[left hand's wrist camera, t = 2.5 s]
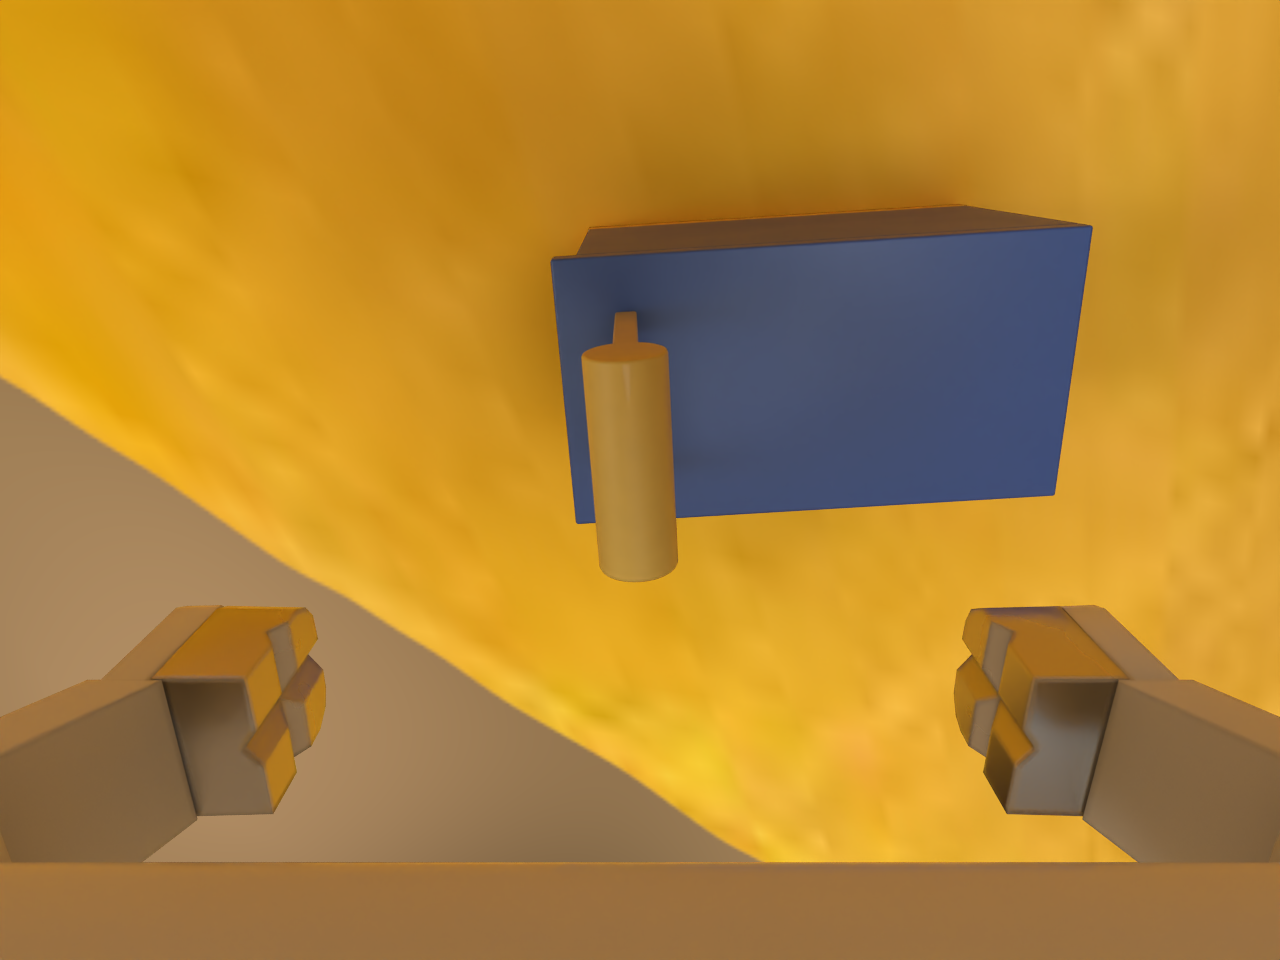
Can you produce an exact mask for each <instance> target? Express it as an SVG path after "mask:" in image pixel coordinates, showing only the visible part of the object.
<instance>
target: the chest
mask: <svg viewBox="0 0 1280 960" xmlns="http://www.w3.org/2000/svg"><path fill="white" fill-rule="evenodd" d="M1066 224H1078V223H1073V222H1066V221H1060V220H1054V219H1047V218H1041V217H1034V216H1028V215H1021V214H1015V213H1009V212H1002V211H996V210H989V209H983V208H977V207H970V206H967V205H961V204H955V205H939V206H923V207H908V208H892V209H876V210H860V211H844V212H828V213H812V214H797V215H781V216H765V217H749V218H733V219H717V220H701V221H686V222H670V223H654V224H638V225H622V226H606V227H591V228H589V229H588V233H587V235H586V237H585V239H584V241H583V243H582V245H581V247H580V249H579V251H578V253H577V255H588V254H604V253H620V252H636V251H652V250H668V249H684V248H700V247H716V246H732V245H748V244H763V243H779V242H795V241H811V240H827V239H843V238H859V237H875V236H891V235H907V234H923V233H939V232H955V231H971V230H986V229H1002V228H1018V227H1034V226H1050V225H1066Z"/></svg>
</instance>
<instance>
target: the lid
mask: <svg viewBox="0 0 1280 960" xmlns="http://www.w3.org/2000/svg"><path fill="white" fill-rule="evenodd" d="M1092 229H1093V228H1092V226H1091V225H1085V224H1066V225H1050V226H1034V227H1018V228H1002V229H986V230H971V231H955V232H939V233H923V234H907V235H891V236H875V237H859V238H843V239H827V240H811V241H795V242H779V243H763V244H748V245H732V246H716V247H700V248H684V249H668V250H652V251H636V252H620V253H604V254H588V255H572V256H556V257H553V258H552V259H551V272H552V282H553V292H554V302H555V313H556V323H557V333H558V343H559V354H560V364H561V374H562V384H563V395H564V405H565V415H566V425H567V436H568V446H569V456H570V466H571V476H572V487H573V497H574V507H575V517H576V523H577V524H584V523H596V531H597V542H598V553H599V565H600V568H601V570H602V571H603V573H604V574H605V575H607V576H608V577H610V578H613V579H616V580H619V581H625V582H644V581H650V580H655V579H658V578H661V577H663V576H665V575H667V574H669V573H670V572H672V571H673V570H674V569H675V567H676V565H677V563H678V549H677V528H676V518H685V517H702V516H719V515H735V514H752V513H769V512H786V511H802V510H819V509H836V508H853V507H869V506H886V505H903V504H920V503H936V502H953V501H970V500H987V499H1003V498H1020V497H1037V496H1053V495H1054V494H1055V488H1056V481H1057V474H1058V467H1059V460H1060V453H1061V446H1062V439H1063V432H1064V425H1065V418H1066V411H1067V404H1068V397H1069V390H1070V383H1071V376H1072V369H1073V362H1074V355H1075V348H1076V341H1077V334H1078V327H1079V320H1080V313H1081V306H1082V299H1083V292H1084V285H1085V278H1086V271H1087V264H1088V257H1089V250H1090V243H1091V236H1092Z"/></svg>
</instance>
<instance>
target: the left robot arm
mask: <svg viewBox="0 0 1280 960" xmlns="http://www.w3.org/2000/svg"><path fill="white" fill-rule="evenodd" d="M317 639H318V637H317V633H316V628H315V623H314V618H313V615H312V614H311V613H310V612H309V611H308V610H307V609H306V608H302V607H250V606H226V607H224V606H222V605H212V606H185V607H178V608H176V609H175V610H173V611H172V612H171V613H170V614H169V615H168V616H167V617H166V618H165V619H164V620H163V621H162V622H161V623H160V624H159V625H158V626H157V627H156V628H155V629H154V630H153V631H151V632H150V633H149V634H148V635H147V636H146V637H145V638H144V639H143V640H142V641H141V642H140V643H139V644H138V645H137V646H136V647H135V648H134V649H133V650H132V651H131V652H130V653H128V654H127V655H126V656H125V657H124V658H123V659H122V660H121V661H120V662H119V663H118V664H117V665H116V666H115V667H114V668H113V669H112V670H111V671H110V672H109V673H108V674H107V675H105V676H104V677H103V678H102V679H101V680H86V681H84V682H81V683H79V684H77V685H74V686H72V687H70V688H67V689H65V690H63V691H60V692H58V693H55V694H53V695H51V696H48V697H46V698H44V699H41V700H39V701H37V702H34V703H32V704H30V705H27V706H25V707H23V708H20V709H18V710H16V711H13V712H11V713H9V714H6V715H4V716H2V717H0V960H1280V717H1278V716H1276V715H1274V714H1271V713H1269V712H1267V711H1264V710H1262V709H1260V708H1257V707H1255V706H1253V705H1250V704H1248V703H1245V702H1243V701H1241V700H1238V699H1236V698H1234V697H1231V696H1229V695H1227V694H1224V693H1222V692H1220V691H1217V690H1215V689H1213V688H1210V687H1208V686H1206V685H1203V684H1201V683H1199V682H1196V681H1194V680H1179V679H1178V678H1177V677H1176V676H1175V675H1174V674H1173V673H1171V672H1170V671H1169V670H1168V669H1167V668H1166V667H1165V666H1164V665H1163V664H1162V663H1161V662H1160V661H1159V660H1158V659H1157V658H1156V657H1155V656H1154V655H1153V654H1152V653H1151V652H1150V651H1149V650H1147V649H1146V648H1145V647H1144V646H1143V645H1142V644H1141V643H1140V642H1139V641H1138V640H1137V639H1136V638H1135V637H1134V636H1133V635H1132V634H1131V633H1130V632H1129V631H1128V630H1127V629H1126V628H1125V627H1124V626H1122V625H1121V624H1120V623H1119V622H1118V621H1117V620H1116V619H1115V618H1114V617H1113V616H1112V615H1111V614H1110V613H1109V612H1108V611H1107V610H1106V609H1104V608H1101V607H1098V606H1095V605H1083V606H1051V607H1010V608H978V609H971V611H970V613H969V615H968V617H967V619H966V621H965V626H964V632H963V637H962V639H963V641H964V643H965V644H966V646H967V647H968V649H969V650H970V652H971V653H972V655H971V656H970V657H969V658H968V659H967V660H966V661H965V662H964V663H963V664H962V665H961V666H960V667H959V668H958V669H957V673H956V680H955V688H954V701H955V712H956V718H957V721H958V724H959V727H960V730H961V733H962V735H963V736H964V738H965V740H966V742H967V744H968V746H969V747H971V748H973V749H974V750H976V751H977V752H979V753H980V754H982V755H983V756H985V757H986V760H985V765H984V771H983V773H984V774H985V776H986V778H987V780H988V782H989V783H990V785H991V787H992V789H993V790H994V792H995V794H996V796H997V797H998V799H999V801H1000V803H1001V804H1002V806H1003V808H1004V810H1005V811H1006V813H1007V814H1026V815H1063V816H1083V820H1084V821H1085V822H1087V823H1088V824H1089V825H1090V826H1092V827H1093V828H1094V829H1096V830H1097V831H1098V832H1100V833H1101V834H1102V835H1103V836H1105V837H1106V838H1107V839H1109V840H1110V841H1111V842H1113V843H1114V844H1115V845H1116V846H1118V847H1119V848H1120V849H1122V850H1123V851H1124V852H1126V853H1127V854H1128V855H1129V856H1131V857H1132V858H1133V859H1135V860H1136V861H1137V862H645V863H644V862H637V863H636V862H627V863H626V862H624V863H623V862H616V863H615V862H603V863H602V862H599V863H598V862H587V863H586V862H580V863H579V862H569V863H568V862H552V863H551V862H550V863H548V862H544V863H542V862H538V863H537V862H531V863H530V862H525V863H523V862H516V863H515V862H514V863H513V862H509V863H508V862H505V863H504V862H480V863H479V862H143V861H144V860H146V859H147V858H148V857H149V856H151V855H152V854H153V853H155V852H156V851H157V850H159V849H160V848H161V847H163V846H164V845H165V844H166V843H168V842H169V841H170V840H172V839H173V838H174V837H176V836H177V835H178V834H179V833H181V832H182V831H183V830H185V829H186V828H187V827H189V826H190V825H191V824H192V823H194V822H195V821H196V820H197V816H216V815H252V814H273V813H274V812H275V810H276V808H277V806H278V804H279V803H280V801H281V799H282V797H283V796H284V794H285V792H286V790H287V789H288V787H289V785H290V783H291V782H292V780H293V778H294V776H295V774H296V773H297V771H296V765H295V760H294V757H295V756H297V755H298V754H300V753H301V752H303V751H304V750H306V749H307V748H309V747H311V746H312V744H313V742H314V740H315V738H316V736H317V734H318V732H319V731H320V728H321V724H322V719H323V715H324V711H325V707H326V685H325V679H324V672H323V669H322V668H321V667H320V666H319V665H318V664H317V663H316V662H315V661H314V660H313V659H312V658H311V657H310V656H309V655H308V653H309V652H310V650H311V649H312V647H313V646H314V644H315V643H316V641H317Z"/></svg>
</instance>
